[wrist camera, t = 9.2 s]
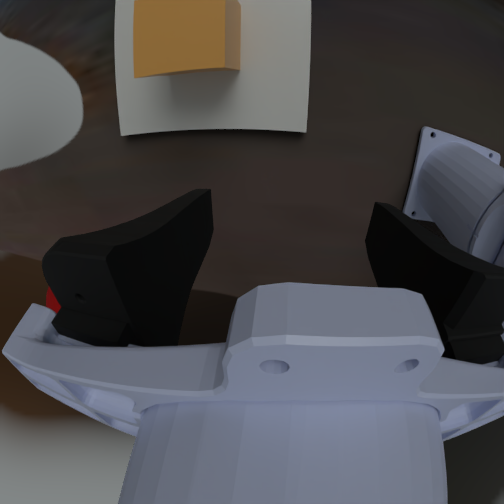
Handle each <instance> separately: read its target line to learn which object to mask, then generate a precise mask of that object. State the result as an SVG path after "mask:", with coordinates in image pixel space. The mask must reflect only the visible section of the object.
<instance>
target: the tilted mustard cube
mask: <svg viewBox="0 0 504 504" xmlns="http://www.w3.org/2000/svg"><path fill="white" fill-rule="evenodd" d="M240 47H241V5H240V3H239V2H238V0H135V1H134V15H133V64H134V78H143V77H154V76H170V75H177V74H186V73H197V72H210V71H232V70H240Z"/></svg>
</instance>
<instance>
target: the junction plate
mask: <svg viewBox="0 0 504 504" xmlns="http://www.w3.org/2000/svg"><path fill="white" fill-rule="evenodd" d="M134 1H135V0H116V6H115V73H116V90H117V102H118V112H119V122H120V130H121V136H124V135H132V134H141V133H151V132H162V131H176V130H196V129H261V130H281V131H295V132H306V128H307V112H308V95H309V74H310V45H311V0H238V2H239V3H240V5H241V47H240V70H232V71H210V72H197V73H186V74H177V75H170V76H154V77H143V78H134V64H133V15H134Z"/></svg>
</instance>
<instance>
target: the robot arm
mask: <svg viewBox="0 0 504 504" xmlns="http://www.w3.org/2000/svg"><path fill="white" fill-rule="evenodd" d="M432 132H433V136H432V137H431V136H430V134H431V133H432ZM489 154H490V156H489ZM499 163H500V154H499V153H497V152H495V151H493V150H490V149H488V148H486V147H483V146H481V145H478V144H476V143H473V142H471V141H468V140H466V139H463V138H460V137H457V136H454V135H452V134H449V133H446V132H443V131H439V130H436V129H433V128H430V127H423V128H422V129H421V133H420V139H419V145H418V150H417V155H416V160H415V164H414V169H413V173H412V177H411V182H410V186H409V190H408V193H407V197H406V201H405V205H404V208H403V212H402V211H400V210H399V209H397V208H395V207H394V206H392V205H390V204H387V203H379V202H375V204H374V208H373V212H372V217H371V221H370V224H369V228H368V232H367V236H366V239H365V243H366V248H367V253H368V258H369V261H370V264H371V267H372V270H373V273H374V276H375V279H376V282H377V285H378V287H357V286H338V285H321V284H305V283H291V282H286V283H278V284H270V285H261V286H257V287H256V288H254V289H252V290H251V291H249V292H248V293H246V294H244V295H243V296H241V297H240V298H238V299H237V302H236V305H235V308H234V310H233V313H232V317H231V321H230V326H229V331H228V335H227V340H226V343H215V344H201V345H184V346H177V345H178V340H179V335H180V330H181V326H182V321H183V317H184V313H185V308H186V305H187V302H188V298H189V294H190V291H191V288H192V286H193V283H194V281H195V278H196V276H197V274H198V271H199V269H200V267H201V264H202V262H203V260H204V257H205V255H206V253H207V250H208V248H209V245H210V241H211V238H212V234H213V230H214V228H213V215H212V201H211V189H195V190H193V191H190V192H188V193H186V194H185V195H183V196H181V197H179V198H177V199H175V200H173V201H172V202H170V203H168V204H166V205H164V206H162V207H160V208H158V209H156V210H154V211H152V212H150V213H148V214H146V215H143V216H141V217H139V218H136V219H134V220H131V221H128V222H125V223H122V224H119V225H116V226H113V227H110V228H107V229H103V230H99V231H95V232H91V233H86V234H81V235H75V236H70V237H63V238H60V239H59V240H58V241H57V242H56V243H55V244H54V245H53V246H52V247H51V248H50V249H49V251H48V252H47V253H46V254H45V255H44V257H43V259H42V269H43V273H44V276H45V279H46V281H47V283H48V285H49V287H50V289H51V291H52V292H53V294H54V296H55V298H56V299H57V301H58V303H59V305H60V306H61V308H60V310H59V311H58V313H56V312H54V311H53V310H52V309H50V308H47V307H44V306H41V305H38V304H35V303H33V304H32V305H31V306H30V308H29V309H28V311H27V312H26V313H25V315H24V316H23V318H22V319H21V321H20V322H19V324H18V325H17V327H16V328H15V330H14V332H13V333H12V335H11V336H10V338H9V340H8V341H7V343H6V345H5V346H4V348H3V350H2V352H3V354H4V355H5V356H6V357H7V358H8V360H10V362H11V363H12V364H13V365H14V366H15V367H16V368H17V369H18V370H19V371H20V372H21V373H22V374H23V375H24V376H25V377H26V378H27V379H28V380H29V381H30V382H31V383H33V384H34V385H35V386H36V387H37V388H38V389H40V390H41V391H43V392H45V393H46V394H48V395H50V396H52V397H54V398H55V399H57V400H59V401H61V402H63V403H64V404H66V405H68V406H70V407H72V408H74V409H76V410H78V411H80V412H81V413H84V414H85V415H87V416H89V417H91V418H94V419H96V420H98V421H100V422H102V423H104V424H106V425H109V426H111V427H113V428H116V429H118V430H120V431H123V432H125V433H128V434H130V435H133V436H135V437H136V440H135V443H134V446H133V450H132V453H131V457H130V460H129V464H128V467H127V471H126V475H125V478H124V482H123V486H122V490H121V494H120V498H119V503H118V504H447V479H446V467H445V456H444V448H443V441H445V440H448V439H450V438H453V437H456V436H458V435H460V434H463V433H466V432H468V431H470V430H473V429H475V428H477V427H480V426H482V425H484V424H486V423H489V422H491V421H493V420H495V419H497V418H499V417H502V416H503V415H504V168H502V167H501V166H499ZM413 211H415V212H414V214H411V213H412V212H413ZM413 219H417V220H424V221H431V222H435V224H436V225H437V226H438V228H439V229H440V230H441V231H442V233H443V234H444V236H445V237H446V238H447V240H448V241H449V242H450V243H448V242H447V241H445V240H443V239H441V238H440V237H438V236H437V235H435V234H434V233H432V232H431V231H429V230H428V229H426V228H425V227H423V226H422V225H420V224H419V223H417V222H416V221H415V220H413Z"/></svg>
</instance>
